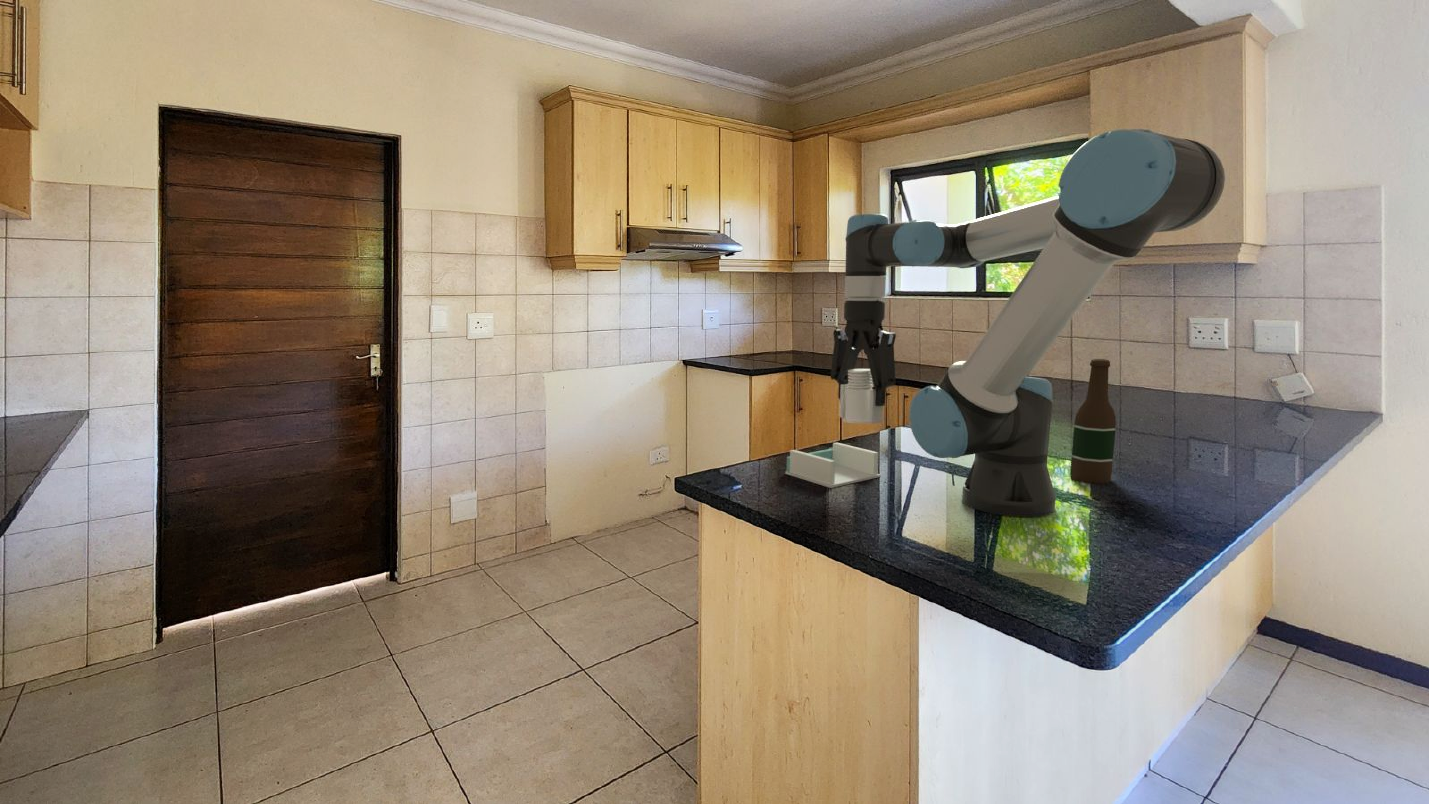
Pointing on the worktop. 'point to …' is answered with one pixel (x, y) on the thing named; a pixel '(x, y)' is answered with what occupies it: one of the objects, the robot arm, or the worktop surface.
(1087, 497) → the worktop surface
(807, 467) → the holder
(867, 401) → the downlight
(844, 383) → the robot arm
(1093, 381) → the beer bottle
